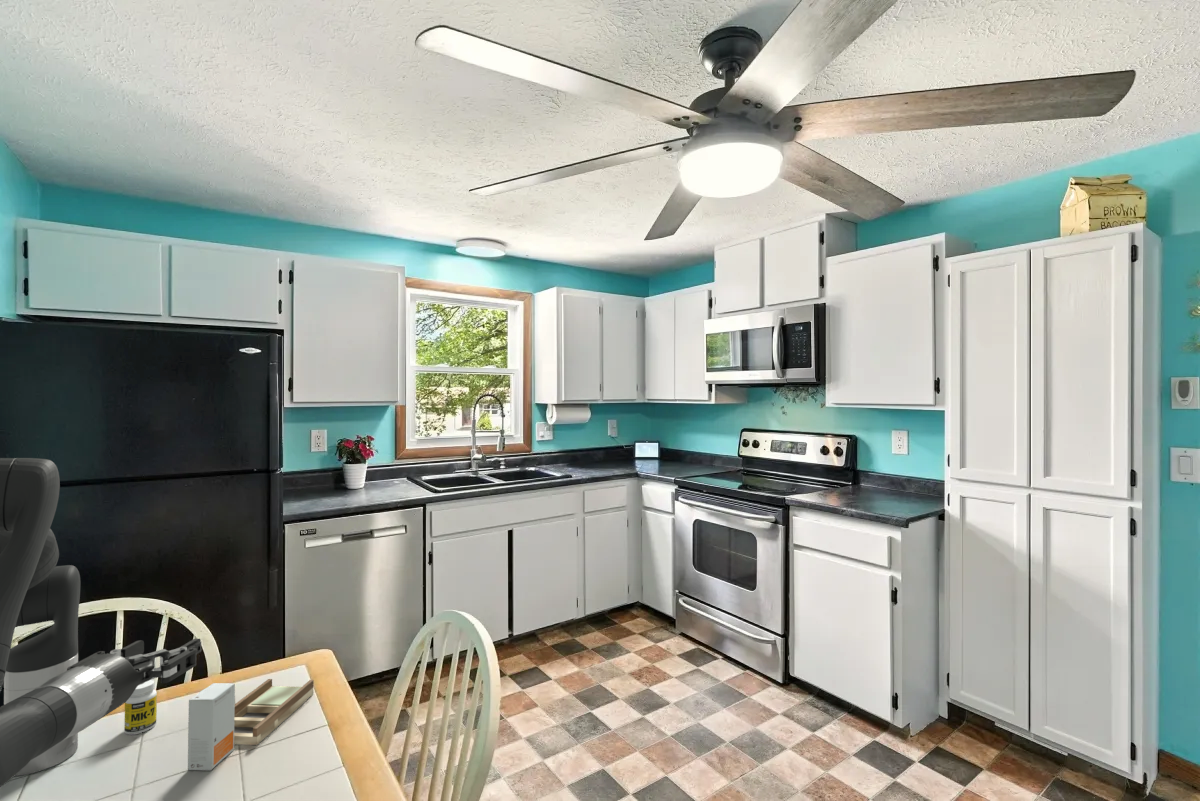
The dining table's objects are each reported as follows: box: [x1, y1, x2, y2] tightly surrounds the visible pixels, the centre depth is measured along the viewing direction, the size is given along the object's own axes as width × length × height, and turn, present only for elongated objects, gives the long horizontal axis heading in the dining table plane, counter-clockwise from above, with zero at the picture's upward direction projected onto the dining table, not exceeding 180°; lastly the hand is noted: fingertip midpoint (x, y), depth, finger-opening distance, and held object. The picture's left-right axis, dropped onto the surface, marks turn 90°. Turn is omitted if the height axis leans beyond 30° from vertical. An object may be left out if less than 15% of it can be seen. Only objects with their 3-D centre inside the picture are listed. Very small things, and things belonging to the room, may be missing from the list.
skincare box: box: [187, 682, 236, 771], centre depth 98 cm, size 6×4×12 cm
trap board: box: [234, 678, 314, 746], centre depth 111 cm, size 10×18×3 cm, turn 177°
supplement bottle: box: [124, 679, 158, 736], centre depth 108 cm, size 5×5×8 cm
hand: (169, 645), depth 88 cm, fingers open, 8 cm apart
